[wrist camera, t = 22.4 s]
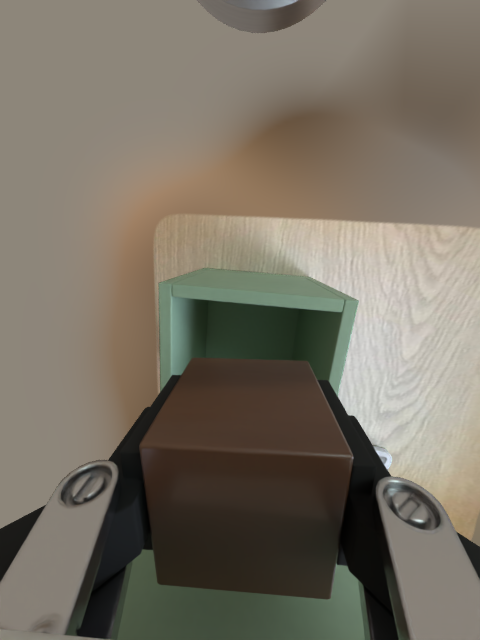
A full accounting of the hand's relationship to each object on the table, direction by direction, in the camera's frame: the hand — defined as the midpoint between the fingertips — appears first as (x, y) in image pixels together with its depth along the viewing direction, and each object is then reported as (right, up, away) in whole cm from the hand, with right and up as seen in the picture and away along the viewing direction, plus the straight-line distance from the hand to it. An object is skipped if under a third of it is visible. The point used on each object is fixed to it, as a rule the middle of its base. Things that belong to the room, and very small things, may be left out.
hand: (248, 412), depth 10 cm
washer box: (+1, +3, +18) cm, 19 cm away
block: (0, 0, 0) cm, 0 cm away
